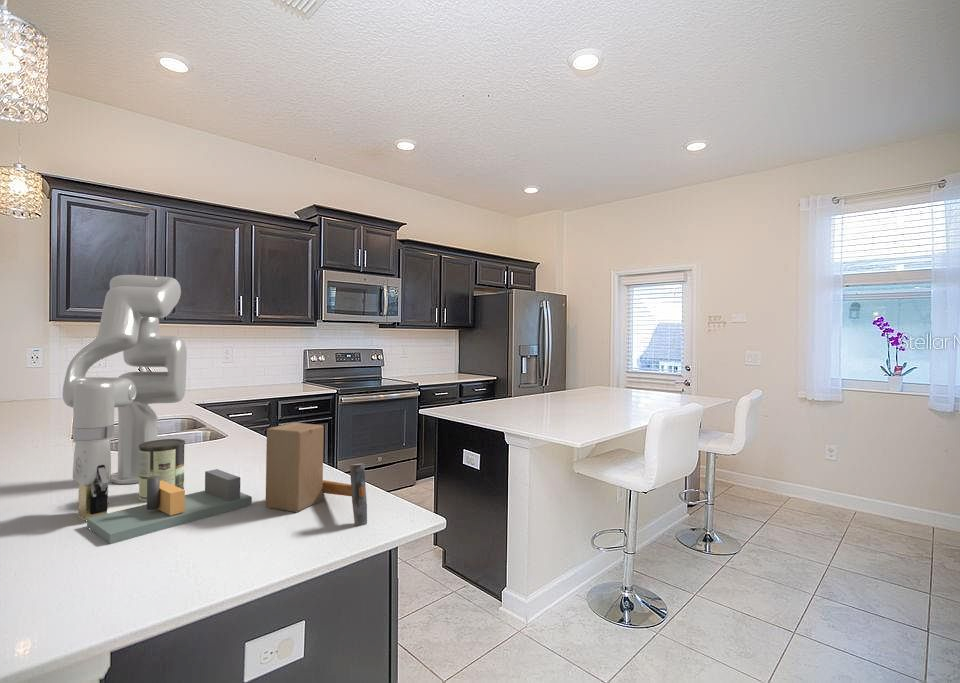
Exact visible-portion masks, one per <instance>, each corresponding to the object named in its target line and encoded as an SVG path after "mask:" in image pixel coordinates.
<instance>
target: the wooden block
mask: <svg viewBox="0 0 960 683" xmlns="http://www.w3.org/2000/svg"><path fill="white" fill-rule="evenodd" d="M324 428H325V427H324V425H321V424H313V423H303V422H291V423H285V424H281V425H277V426H273V427H269V428H267V429H266V451H265V453H266V455H265V457H266V458H265V459H266V462H265V467H266V468H265V508H269V509H276V510H281V511H288V512H293V513H299V512H301V511H303V510H305V509H307V508H309V507H311V506H313V505H315V504H317V503H319V502H321V501H322V500H323V493H322V491H323V480H324V436H325V435H324Z"/></svg>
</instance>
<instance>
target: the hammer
mask: <svg viewBox="0 0 960 683" xmlns="http://www.w3.org/2000/svg"><path fill="white" fill-rule="evenodd" d="M349 471H350V473H349V474H350V484H348V483H343V482H337V481H330V480H324V479H323V491H322V494H327V495H337V496H344V497H347V496H348V497H351V504H352V512H353V519H354V520H353V521H354V526H355V527H359V526H363V525H368V502H367V501H368V500H367V487H366V472H365V471H366V470H365V463H355V464H350V465H349Z"/></svg>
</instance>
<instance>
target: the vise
mask: <svg viewBox="0 0 960 683" xmlns="http://www.w3.org/2000/svg"><path fill="white" fill-rule="evenodd" d="M204 478H205V479H204V490H202V491H201V490H200V491H196V492H193V493H188V494H185V512H182V513H178V514H174V515H168V514H166V513H164V512H162V511H161V510H159V509H154V510H147V503H146V504H142V505H138V506H134V507H130V508H129V507H128V508H124V509H121V510H120V509H119V510H116V511H113V512H107V514H103V515H99V516H95V517H90V518H87V521H86V528H87V527H88V528H87V529H89V528H90V529H91V530H92V532H93V533H94V532H95V533H96V534H95V533H94V534H95V535H97V536H98V535H99V537H100V538H101V539H102V540H104V541H105V542H106V543H108V544H109V545H112V544H115V543H119V542H123V541H127V540H131V539H133V538H137V537H140V536H144V535H147V534H152V533H155V532H157V531H162V530H165V529H166V530H167V529H169V528H172V527H176V526H179V525H183V524H187V523H190V522H194V521H197V520H201V519H205V518H209V517H213V516H216V515H219V514H222V513H225V512H230V511H234V510H236V509H240V508H244V507H247V506H251V505H252V504H253V498H252V497H253V496H251V495H248V494H247V493H244V492H241V477H240V476H237V475H235V474H231V473H229V472H227V471H224V470H220V469H218V468H216V469H212V470H206V471H204ZM90 529H89V530H90ZM91 530H90V531H91Z"/></svg>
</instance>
